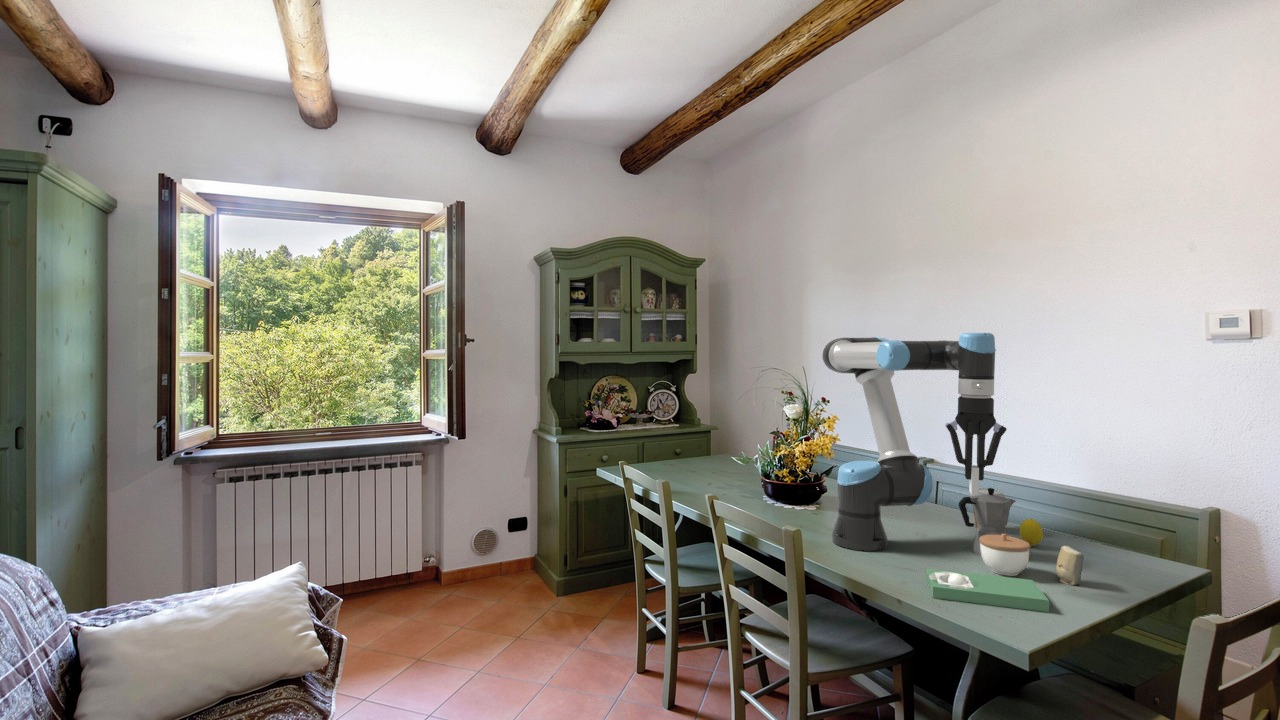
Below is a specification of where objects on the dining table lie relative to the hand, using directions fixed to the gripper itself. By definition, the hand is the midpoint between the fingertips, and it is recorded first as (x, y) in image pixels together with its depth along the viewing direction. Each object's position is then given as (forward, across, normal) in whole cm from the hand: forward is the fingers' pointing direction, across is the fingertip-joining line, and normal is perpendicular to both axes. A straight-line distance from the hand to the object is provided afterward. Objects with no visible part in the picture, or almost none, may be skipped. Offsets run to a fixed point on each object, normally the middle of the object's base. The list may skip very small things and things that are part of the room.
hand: (973, 492), depth 140 cm
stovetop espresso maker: (+23, +12, +48) cm, 54 cm away
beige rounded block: (+21, +21, +5) cm, 30 cm away
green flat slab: (+21, 0, -10) cm, 23 cm away
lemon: (+22, +20, +33) cm, 44 cm away
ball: (+19, -5, -10) cm, 22 cm away
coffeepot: (+22, +7, +22) cm, 32 cm away
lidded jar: (+21, +8, +8) cm, 24 cm away
